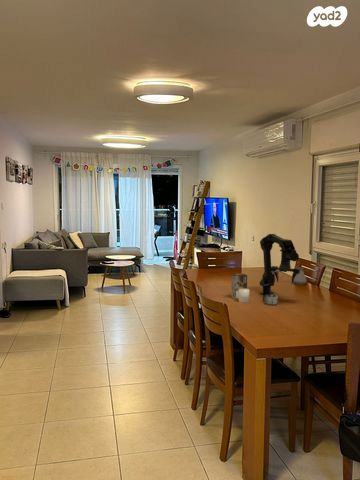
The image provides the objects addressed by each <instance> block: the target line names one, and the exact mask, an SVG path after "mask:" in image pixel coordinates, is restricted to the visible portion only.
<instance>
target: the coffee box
mask: <svg viewBox="0 0 360 480" xmlns="http://www.w3.org/2000/svg"><path fill="white" fill-rule="evenodd" d="M240 288H246V289H248V275H247V274H246V273H231V288H230V289H231V290H230V291H231V292H230V294H231V296H230V297H231V298H232V299H235V300H238V298H236V291H239V289H240Z"/></svg>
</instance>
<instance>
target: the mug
mask: <svg viewBox="0 0 360 480" xmlns="http://www.w3.org/2000/svg"><path fill="white" fill-rule="evenodd" d="M236 298H238V299H237V301H238V302H239V303H243V304H246V303H250V289H249V288H247V289H246V288H240V289H239V291H236Z"/></svg>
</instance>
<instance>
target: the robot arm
mask: <svg viewBox="0 0 360 480" xmlns="http://www.w3.org/2000/svg"><path fill="white" fill-rule="evenodd" d="M275 243H276V244H277V245H278V246H279V248H280V250H279V251H280V252H281V253H280V254H281V258H280V260H281V261H280V264H279V266H278V265H277V266H276V265H272V259H271V258H272V257H271V256H272V254H271V250H272V249H273V244H275ZM259 244H260V249H261V250H262V252H263V266H264V270H263V271H264V272H263V274H262V276H261V280H260V281H259V286H261V287H262V293H261V294H260V295H262V296H263V295H264V296H266V295H270V291H271V290H272V289H271V288H272V287H274V286H275V281H277V283H279V276H280V275H279V272H280V273H281V272H282V273H287V272H291V273H292V276H291V284H294V283H293V281H294V278H295V276H296V275H297V274H299V273H300V272H301V269H300V268H301V267H300V268H297V267H293V268H292V267H291V262H297V261H298V260H299V258H300V255H299V253H298V252H297V250H296V247H295V246H294V242H293V240H292V239H287V238H282V237H281V236H278V235H277V234H276V233H268V234H267V235H266V236H264V237H263V238H261V239H260V241H259Z"/></svg>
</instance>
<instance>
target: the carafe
mask: <svg viewBox="0 0 360 480" xmlns="http://www.w3.org/2000/svg"><path fill="white" fill-rule="evenodd" d="M278 302H279V295H276V294H273V297H271V294H270V295H262V303H265V305H267V306H277V305H278V304H279V303H278Z"/></svg>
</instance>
